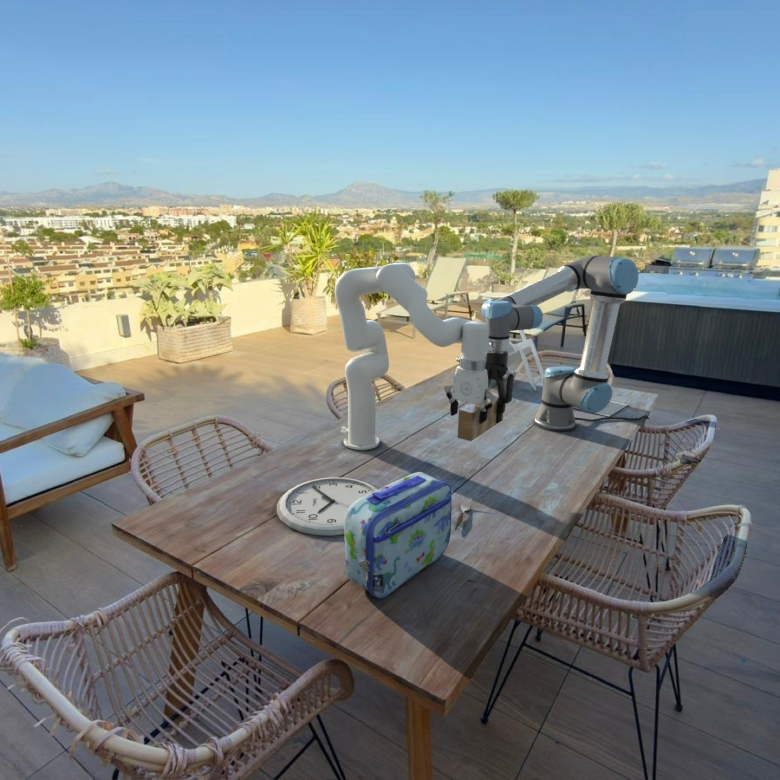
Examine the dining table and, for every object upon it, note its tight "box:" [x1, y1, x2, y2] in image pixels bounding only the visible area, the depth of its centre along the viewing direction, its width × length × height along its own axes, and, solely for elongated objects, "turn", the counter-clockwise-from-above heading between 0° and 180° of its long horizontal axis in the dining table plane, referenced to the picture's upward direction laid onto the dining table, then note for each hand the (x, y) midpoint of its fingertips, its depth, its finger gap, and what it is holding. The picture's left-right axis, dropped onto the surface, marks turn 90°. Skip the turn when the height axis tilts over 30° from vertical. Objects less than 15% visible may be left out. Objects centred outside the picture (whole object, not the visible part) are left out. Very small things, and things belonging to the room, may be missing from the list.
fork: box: [454, 495, 473, 531], centre depth 138 cm, size 3×16×2 cm, turn 160°
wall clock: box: [276, 476, 379, 537], centre depth 142 cm, size 30×2×30 cm
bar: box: [457, 391, 504, 442], centre depth 165 cm, size 22×5×9 cm, turn 143°
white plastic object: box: [507, 330, 545, 391], centre depth 258 cm, size 37×45×31 cm
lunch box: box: [343, 471, 453, 599], centre depth 113 cm, size 26×11×21 cm, turn 134°
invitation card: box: [573, 400, 629, 417], centre depth 226 cm, size 21×1×15 cm
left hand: (467, 418), depth 159 cm, fingers open, 9 cm apart
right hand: (491, 419), depth 172 cm, fingers closed on bar, 5 cm apart
